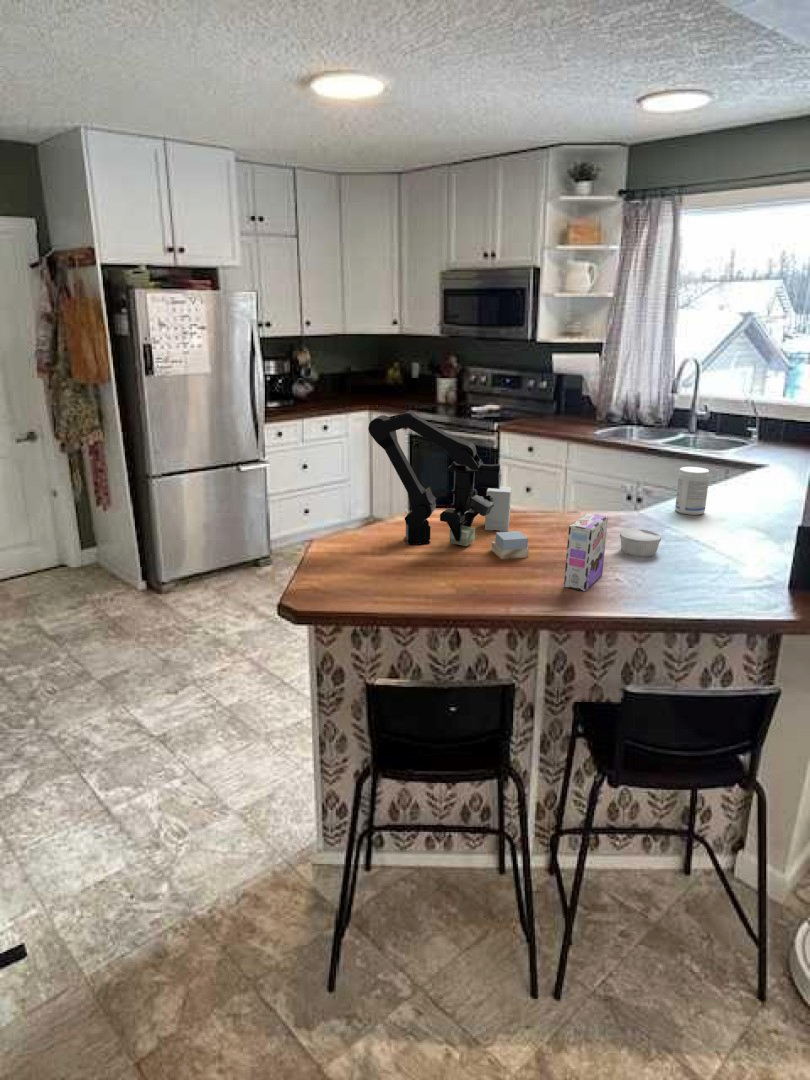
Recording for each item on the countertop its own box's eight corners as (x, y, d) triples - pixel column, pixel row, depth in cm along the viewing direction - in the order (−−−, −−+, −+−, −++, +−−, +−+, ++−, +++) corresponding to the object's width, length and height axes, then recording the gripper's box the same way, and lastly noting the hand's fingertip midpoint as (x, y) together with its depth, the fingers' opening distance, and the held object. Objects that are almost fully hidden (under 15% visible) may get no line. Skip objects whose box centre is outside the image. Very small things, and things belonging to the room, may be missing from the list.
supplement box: (508, 531, 228) (510, 492, 224) (484, 530, 229) (485, 490, 225) (509, 524, 235) (511, 486, 231) (486, 523, 236) (488, 485, 232)
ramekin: (665, 551, 212) (668, 534, 210) (648, 561, 204) (650, 543, 202) (629, 543, 219) (631, 526, 217) (611, 552, 211) (613, 534, 210)
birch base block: (501, 560, 205) (501, 550, 204) (491, 551, 212) (491, 541, 211) (528, 558, 206) (528, 548, 205) (517, 549, 214) (518, 539, 213)
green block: (466, 545, 212) (466, 532, 211) (449, 542, 214) (449, 529, 213) (474, 540, 216) (475, 527, 215) (457, 537, 219) (458, 524, 218)
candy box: (585, 592, 182) (591, 529, 177) (562, 587, 185) (567, 525, 180) (603, 575, 193) (609, 515, 188) (581, 571, 196) (586, 511, 191)
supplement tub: (709, 512, 251) (715, 469, 246) (696, 517, 244) (702, 474, 240) (682, 506, 257) (687, 464, 252) (669, 511, 251) (674, 469, 246)
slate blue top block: (503, 550, 204) (503, 539, 203) (495, 542, 210) (495, 532, 209) (527, 548, 205) (527, 538, 204) (518, 540, 212) (519, 530, 211)
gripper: (476, 497, 199) (474, 552, 204) (502, 483, 214) (500, 534, 219) (439, 492, 204) (438, 545, 209) (467, 478, 219) (465, 528, 224)
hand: (462, 538), depth 215 cm, fingers closed on green block, 5 cm apart
